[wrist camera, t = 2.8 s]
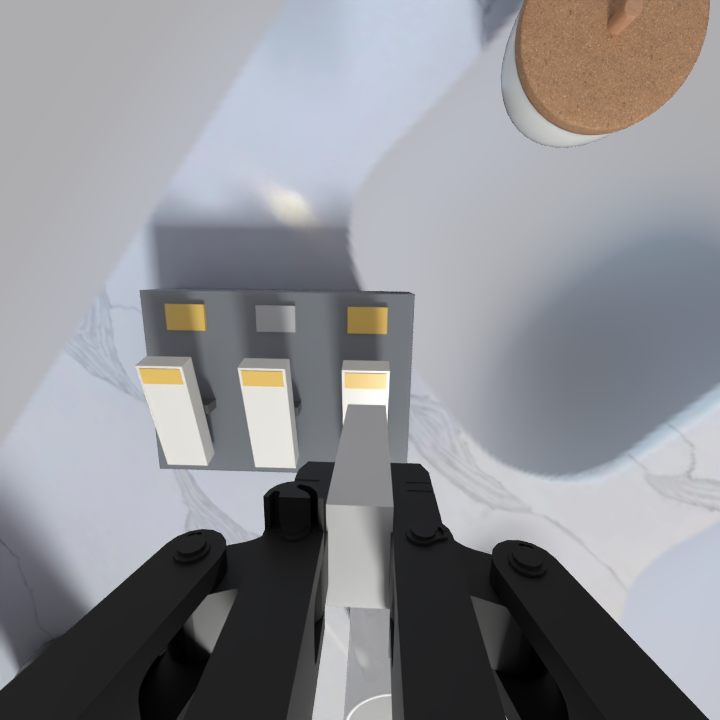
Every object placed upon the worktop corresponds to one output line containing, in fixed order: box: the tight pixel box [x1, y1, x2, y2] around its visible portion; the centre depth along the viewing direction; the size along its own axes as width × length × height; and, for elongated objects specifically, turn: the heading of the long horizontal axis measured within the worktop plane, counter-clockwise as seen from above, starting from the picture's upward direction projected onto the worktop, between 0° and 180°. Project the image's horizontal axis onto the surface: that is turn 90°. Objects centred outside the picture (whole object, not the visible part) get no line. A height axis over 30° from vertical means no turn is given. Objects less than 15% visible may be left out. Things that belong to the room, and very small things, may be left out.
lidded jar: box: [501, 0, 710, 148], centre depth 24 cm, size 11×11×9 cm
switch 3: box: [342, 360, 390, 424], centre depth 27 cm, size 3×9×1 cm, turn 179°
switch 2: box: [238, 358, 299, 468], centre depth 27 cm, size 3×9×2 cm, turn 179°
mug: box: [344, 607, 392, 720], centre depth 35 cm, size 12×8×10 cm
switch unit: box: [140, 288, 415, 473], centre depth 31 cm, size 21×15×6 cm
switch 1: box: [136, 356, 214, 466], centre depth 28 cm, size 3×9×2 cm, turn 179°
